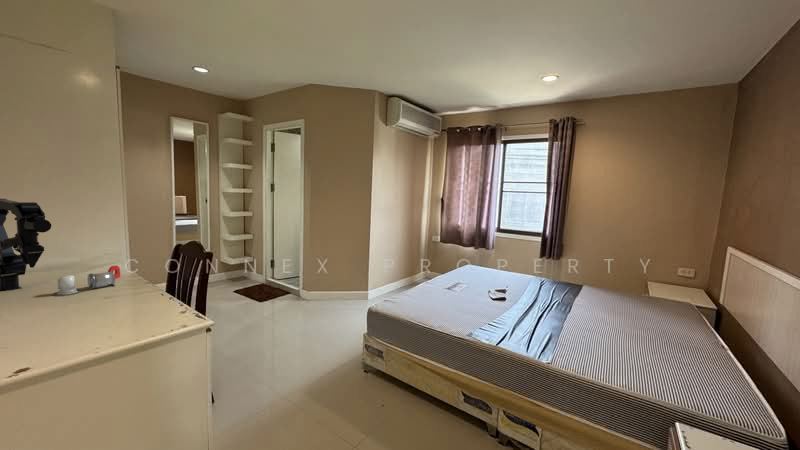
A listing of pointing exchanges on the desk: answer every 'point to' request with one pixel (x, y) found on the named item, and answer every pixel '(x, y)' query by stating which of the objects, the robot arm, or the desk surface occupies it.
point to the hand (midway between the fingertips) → (29, 265)
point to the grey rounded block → (101, 280)
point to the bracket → (117, 271)
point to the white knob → (66, 284)
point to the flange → (67, 293)
